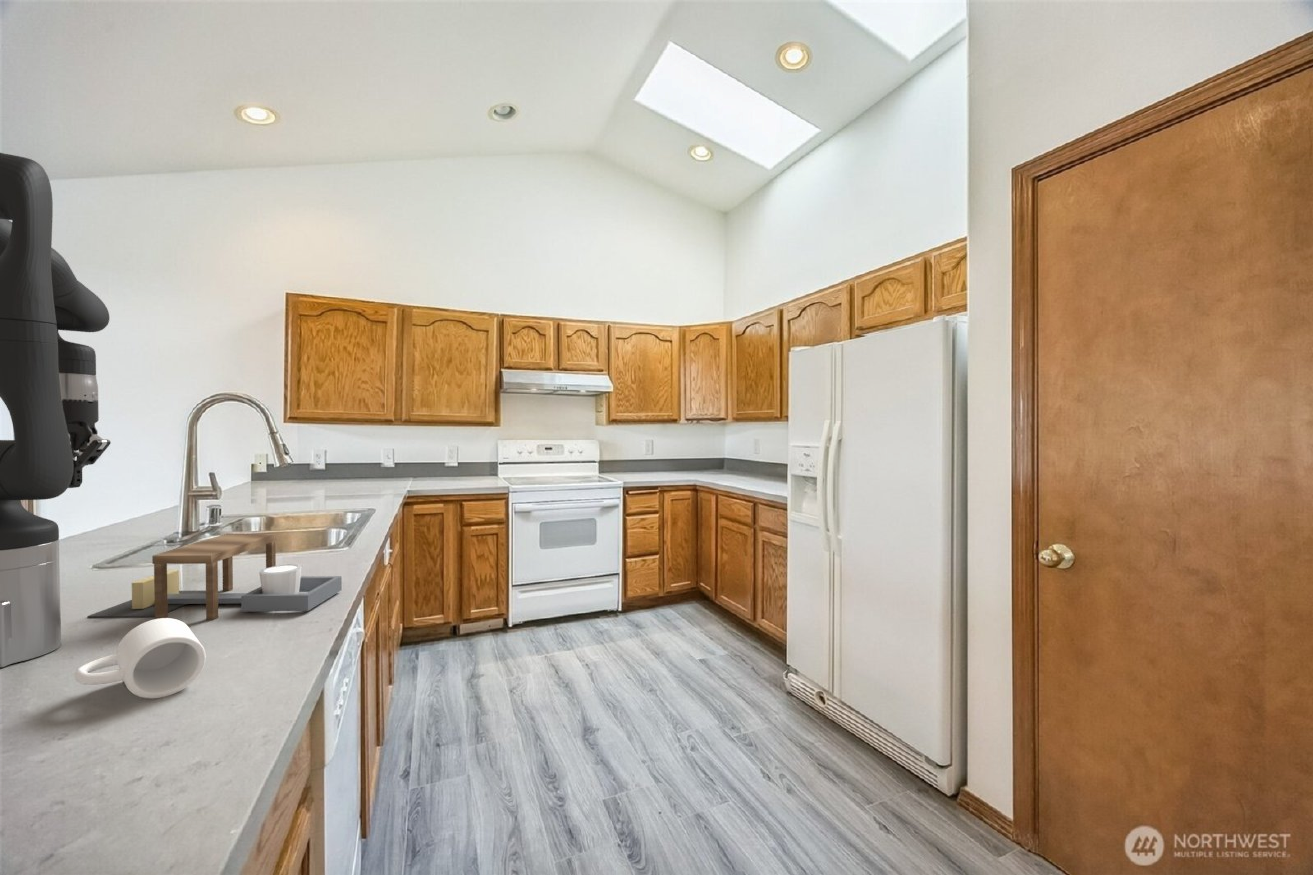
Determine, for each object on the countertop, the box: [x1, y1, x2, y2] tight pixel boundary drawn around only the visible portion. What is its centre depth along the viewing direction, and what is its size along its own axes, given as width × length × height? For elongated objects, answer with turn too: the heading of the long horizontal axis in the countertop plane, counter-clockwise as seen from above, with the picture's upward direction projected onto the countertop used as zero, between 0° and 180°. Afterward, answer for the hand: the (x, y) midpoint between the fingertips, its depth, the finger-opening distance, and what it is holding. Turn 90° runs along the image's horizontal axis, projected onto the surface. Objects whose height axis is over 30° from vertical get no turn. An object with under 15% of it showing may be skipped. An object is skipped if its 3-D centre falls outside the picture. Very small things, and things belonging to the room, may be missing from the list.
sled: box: [131, 569, 343, 613], centre depth 103 cm, size 12×33×5 cm, turn 94°
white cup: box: [258, 563, 302, 594], centre depth 104 cm, size 7×7×7 cm
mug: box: [74, 617, 207, 699], centre depth 71 cm, size 12×10×8 cm
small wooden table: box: [151, 533, 277, 621], centre depth 103 cm, size 18×10×12 cm, turn 4°
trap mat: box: [86, 590, 206, 619], centre depth 102 cm, size 14×12×1 cm
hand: (71, 487), depth 100 cm, fingers closed
